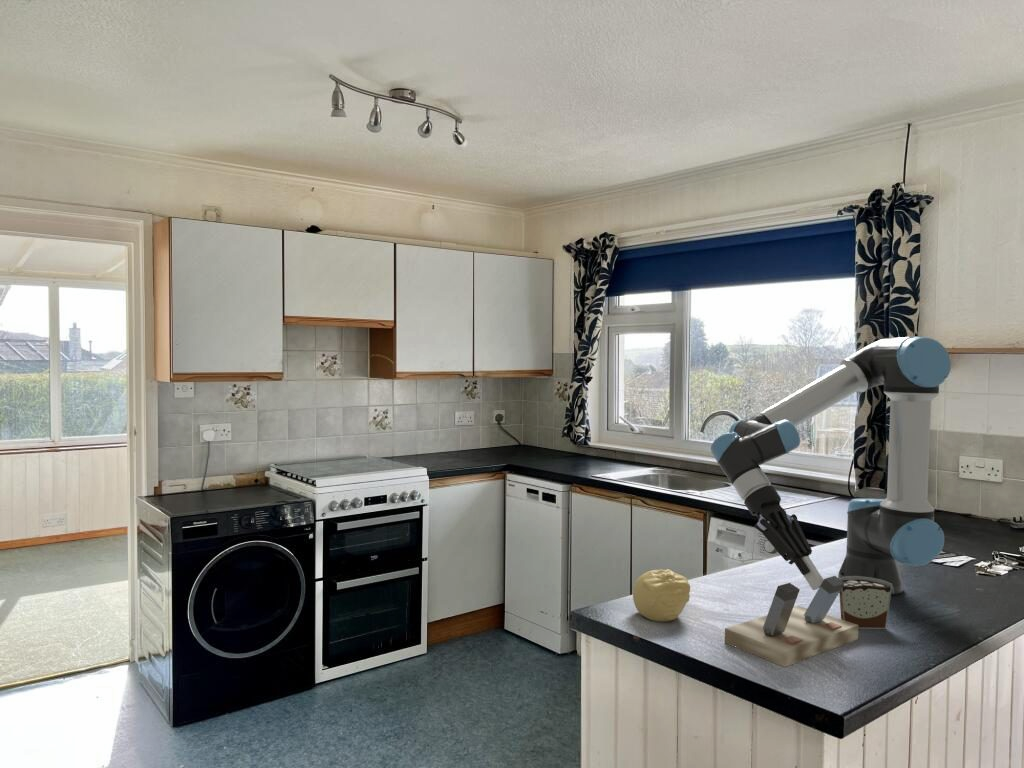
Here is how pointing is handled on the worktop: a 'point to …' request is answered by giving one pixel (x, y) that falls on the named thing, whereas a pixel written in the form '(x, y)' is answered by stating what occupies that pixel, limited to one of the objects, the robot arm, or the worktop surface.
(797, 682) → the worktop surface
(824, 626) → the switch board
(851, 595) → the food container
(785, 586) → the lever
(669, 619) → the pale yellow wrinkled ball
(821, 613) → the lever
